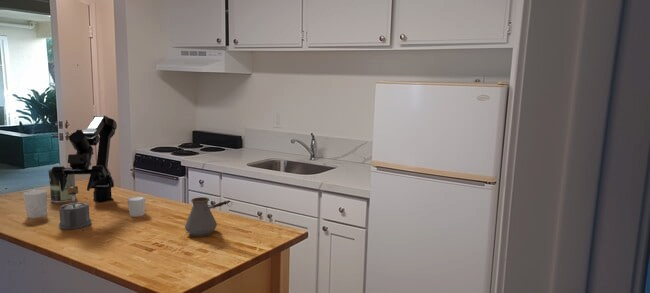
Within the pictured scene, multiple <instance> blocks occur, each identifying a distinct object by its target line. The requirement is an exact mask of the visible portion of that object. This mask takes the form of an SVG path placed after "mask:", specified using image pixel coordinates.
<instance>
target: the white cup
mask: <svg viewBox="0 0 650 293" xmlns="http://www.w3.org/2000/svg"><path fill="white" fill-rule="evenodd" d="M47 192H48V191H47V190H45V189H33V190H29V191H24V192H23V199H24V205H25V210H26V216H27V218H28V219H38V218H43V217H45V216H47V215H48V194H47Z"/></svg>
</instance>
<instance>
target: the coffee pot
mask: <svg viewBox="0 0 650 293" xmlns="http://www.w3.org/2000/svg"><path fill="white" fill-rule="evenodd" d="M190 201H191V203H192V208H191V211H190V212H189V215H188V217H187V220H186V222H185V224H184V229H185V230H186V232H188V234H190V235H191V236H193V237H206V236H209V235H211V234H212V233H213V232H214V231H215V230H216V228H217V225H218V223H217V221H216V219H215V217H214V215H213V213H212V210H211V209H213V208H214V209H215V208H218V207H222V206H225V205H227V206H229V203H231V205H230V207H231V206H233V202H232V201H231V200H224V201H223V202H222V201H221V202H219V203H215V204H213V205H208V204H209V201H210V198H209V197H201V196H200V197H194V198H192V199H191V200H190Z"/></svg>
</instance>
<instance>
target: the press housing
mask: <svg viewBox="0 0 650 293" xmlns="http://www.w3.org/2000/svg"><path fill="white" fill-rule="evenodd" d="M75 204H83V205H84V207H81V208H76V209H64V207H65V206H68V205H72V202H71V203H67V204H63V205H61V206H60V207H59V209H58V210H59V223H58V228H59V229H61V230H65V231H66V230H68V231H69V230H70V231H71V230H80V229H83V228H86V226H87V227H89V226H91V224H92V219H91V216H90V204H89V203H86V202H75Z"/></svg>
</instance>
